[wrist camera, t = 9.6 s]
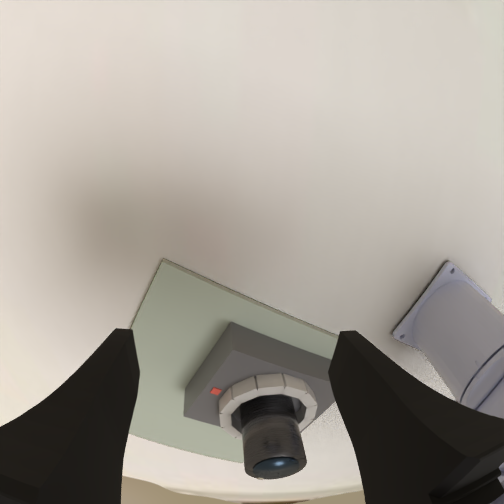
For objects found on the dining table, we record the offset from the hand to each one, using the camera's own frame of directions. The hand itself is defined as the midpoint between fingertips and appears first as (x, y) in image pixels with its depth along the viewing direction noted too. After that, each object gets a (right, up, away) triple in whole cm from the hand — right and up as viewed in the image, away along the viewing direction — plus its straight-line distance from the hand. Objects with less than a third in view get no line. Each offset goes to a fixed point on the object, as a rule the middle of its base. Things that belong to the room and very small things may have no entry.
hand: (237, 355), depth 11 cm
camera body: (+1, -7, +14) cm, 16 cm away
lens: (+2, -8, +11) cm, 14 cm away
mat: (-3, -9, +15) cm, 18 cm away
